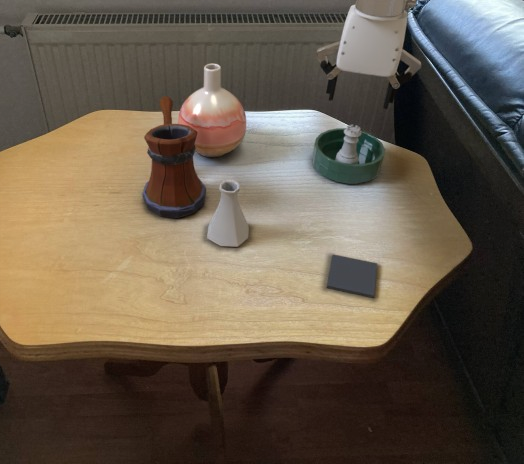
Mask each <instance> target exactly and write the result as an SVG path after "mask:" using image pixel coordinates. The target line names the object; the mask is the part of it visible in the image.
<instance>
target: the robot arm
mask: <svg viewBox="0 0 524 464" xmlns="http://www.w3.org/2000/svg"><path fill="white" fill-rule="evenodd" d="M416 3H417V0H355V4H353V5H351V6H350V7H349V10H348V12H347V14H346V15H347V16H346V18H345V21H344V25H343V29H342V33H341V36H340V40H339V41H336V42H333V43H331V44H327V45H325V46H321V47H318V48H317V50H316V57H317V60H318V63H319V66H320V69H322V71H323V73H324V74H325V75H326V76H327V77H326V78H327V79H328V80H327V85H326V91H325V93H326V94H328V95H329V97H328V101H330V102H332V101H333V100H334V97H335V92H336V87H337V81H338V77H339V74H341V73H342V72H346V73H347V72H348V73H353V74H360V75H368V76H375V77H382V78H384V77H385V78H387V80H388V84H387V88H386V92H385V96H384V99H383V109H384V110H388V109H389V105H390V104H394V101H395V97H396V93H397V90H398V89H399V88H400V86H403V85H404V84H405V83H407V82H408V81H410V80H411V79H412V77H413V76H415V75H416V73H418V71H419V70H420V69H421V68H422V62H421V61H420V60H419V59H418V58H416V57H415V56H413V55H412V54H411V53H409V52H407V51H406V50H405V49H404V42H405V37H406V30H407V24H408V12H407V11H406V10H407V9H410V8H411V9H412V8H413V9H414V8H415V7H416ZM334 53H337V55H336V62H335V63H334V64H333V65H332V63H331V62H330V61H329V59H328V57H327V56H329V55H332V54H334ZM400 61H401V62H403V63H404V64H405V65H407V66H408V68H407V69H406V70H404V71H402V72H401V73H399V72H398V67H399V64H400Z"/></svg>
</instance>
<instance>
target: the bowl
mask: <svg viewBox="0 0 524 464" xmlns="http://www.w3.org/2000/svg"><path fill="white" fill-rule="evenodd" d="M346 128H347V127H346ZM346 128H345V127H344V128H343V127H342V128H339V127H338V128H333V129H328V130H325V131H323V132H321V133H320V134H319V135H318V136H316V138H315V141H314V145H313V149H312V157H311V163H312V166H313V168H314V169H315V171H317V172H318V173H319V174H320V175H321V176H323V177H325V178H326V179H329V180H331V181H334V182H338V183H342V184H349V185H350V184H351V185H352V184H362V183H367V182H370V181H371V180H374V179H375V178H377V177H378V176H379V174H380V173H381V171H382V166H383V162H384V158H385V154H386V147H385V146H384V144H383V142H381V140H379V138H377V136H374V135H372V134H370V133H368V132H367V131H362V130H360V131H361V135H360V136H359V137H358V139H359V141H358V142H357V146H356V152H357V155H358V164H347V163H341V162H338V161H335V158H336V155H337V153H338V152H339V151H340V150H341V149H342V147H343V144H344V137H345V136H346V135H345V133H344V130H345V129H346Z"/></svg>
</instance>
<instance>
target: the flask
mask: <svg viewBox="0 0 524 464" xmlns="http://www.w3.org/2000/svg"><path fill="white" fill-rule="evenodd" d="M219 191H220V192H221V194H220V199H219V203H218V205H217V207H216V209H215V211H214V214H213V216H212V218H211V220H210V222H209V224H208V225H207V233H206V234H207V235H206V239H207V240H209V241H211V242H213V243H214V244H216V245H218V246H220V247H232V248H233V247H235V248H236V247H240V246H241V245H242V244H243V243H244V242H245V241H246V240H248V239H249V232H250V231H249V227H250V226H249V224H248V221H247V219H246V217H245V215H244V213H243V210H242V207H241V204H240V202H239V196H238V192H239V191H240V183H239V182H237V181H235V180H234V179H233V180H232V179H231V180H230V179H224V180H223V181H222V182H220V183H219Z"/></svg>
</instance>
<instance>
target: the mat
mask: <svg viewBox="0 0 524 464" xmlns="http://www.w3.org/2000/svg"><path fill="white" fill-rule="evenodd" d="M329 265H330V266H329V271H328V277H327V283H326V288H327V289H329V290H335V291H339V292H343V293H348V294H353V295H357V296H361V297H367V298H371V299H375V294H376V293H375V292H376V285H377V284H376V283H377V282H376V281H377V269H378V263H377V262H373V261H367V260H363V259H357V258H353V257H348V256H343V255H338V254H332V255H331V260H330V264H329Z"/></svg>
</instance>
